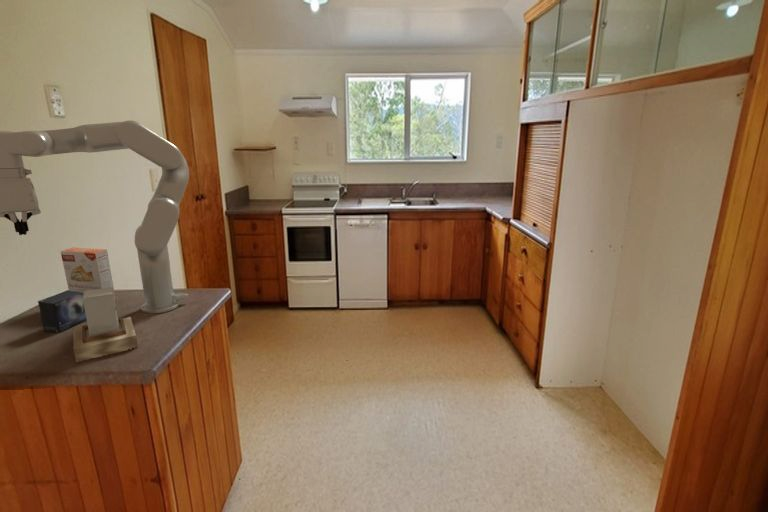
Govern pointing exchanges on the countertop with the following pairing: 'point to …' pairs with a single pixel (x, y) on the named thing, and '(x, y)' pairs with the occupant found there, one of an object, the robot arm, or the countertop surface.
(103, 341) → the maple plinth
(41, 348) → the countertop surface
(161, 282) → the robot arm
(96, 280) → the cracker box
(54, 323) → the small box
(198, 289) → the countertop surface
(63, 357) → the countertop surface
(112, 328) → the supplement box
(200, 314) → the countertop surface
